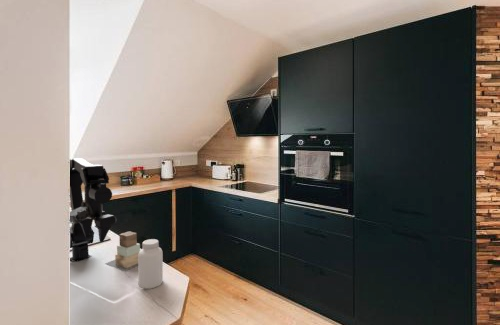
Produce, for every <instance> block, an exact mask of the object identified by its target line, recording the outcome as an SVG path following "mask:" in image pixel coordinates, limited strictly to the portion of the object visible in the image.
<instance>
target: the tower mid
mask: <svg viewBox="0 0 500 325" xmlns="http://www.w3.org/2000/svg"><path fill="white" fill-rule="evenodd" d="M140 250H141V244H140V243H138V242H137V244H135V245H133V246H130V247H123V246H120V244H117V245H116V251H117V252H116V254H118V255H121V256H124V257H129V256H132V255H134V254H137V253H139V252H140Z"/></svg>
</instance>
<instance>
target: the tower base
mask: <svg viewBox="0 0 500 325" xmlns="http://www.w3.org/2000/svg"><path fill="white" fill-rule="evenodd" d="M138 254H139V253H137V254H134V255H132V256H129V257H124V256H121V255H118V254H117V253H115V255H114V257H115V259H114V260H115V264H117V265H119V266H122V267H125V268H128V267H131V266H133V265H135V264H138Z"/></svg>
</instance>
